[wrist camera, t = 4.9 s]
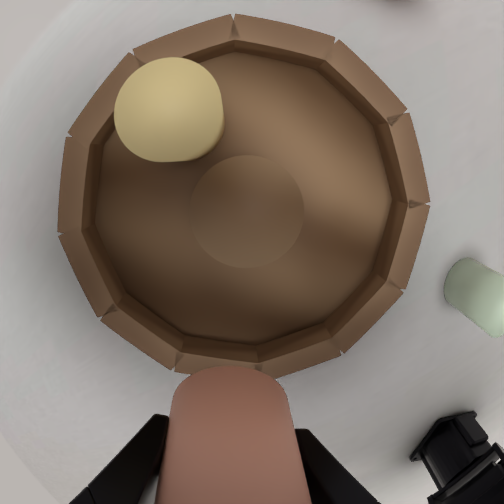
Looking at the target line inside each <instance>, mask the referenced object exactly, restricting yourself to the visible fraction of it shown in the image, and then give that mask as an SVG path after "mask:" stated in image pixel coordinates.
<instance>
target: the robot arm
mask: <svg viewBox="0 0 504 504" xmlns="http://www.w3.org/2000/svg"><path fill="white" fill-rule="evenodd" d="M476 416H477V413H476V412H470V413H466V414H462V415H457V416H452V417H448V418H443V419H440V420H438V421H437V422H436V423H435V425H434V426H433V428H432V429H431V430H430V432H429V433H428V435H427V436H426V437H425V439H424V440H423V441H422V443H421V444H420V445H419V447H418V448H417V449H416V450H415V452H414V453H413V454H412V456H411V457H410V461H411V462H413V461H418V460H422V461H423V463H424V464H425V466H426V468H427V470H428V472H429V473H430V475H431V477H432V479H433V481H434V483H435V484H436V486H437V488H438V490H439V491H437V492H436V493H434V494H433V495H430V496H429V497H427V499H428V503H429V504H504V449H503V448H502V447H501V446H500V445H499V444H498V443H496V442H495V443H494V444H493V445H492V446H491V445H490V444H489V442H488V441H487V439H488V435H487V434H486V433H485V431H484V430H483V429H482V427H481V426H480V425H479V424H478V422H477V421H476V420H475V417H476ZM168 422H169V417H168V416H166V415H160V414H154V415H153V416H152V417H151V418H150V419H149V421H148V422H147V423H146V424H145V425H144V426H143V427H142V428H141V429H140V430H139V431H138V433H137V434H136V435H135V436H134V437H133V438H132V439H131V440H130V441H129V442H128V443H127V444H126V446H125V447H124V448H123V449H122V450H121V451H120V452H119V453H118V454H117V455H116V456H115V457H114V458H113V459H112V460H111V461H110V463H109V464H108V465H107V466H106V467H105V468H104V469H103V470H102V471H101V472H100V473H99V474H98V475H97V476H96V477H95V478H94V479H93V480H92V481H91V482H90V483H89V484H88V487H89V488H88V487H85V488H84V489H83V490H82V491H81V492H80V493H79V494H78V495H77V496H76V497H75V498H74V499H73V500H72V501H71V502H70V503H69V504H154V502H155V496H156V489H157V483H158V477H159V471H160V465H161V460H162V455H163V450H164V444H165V438H166V433H167V428H168ZM295 434H296V438H297V442H298V447H299V451H300V455H301V459H302V464H303V468H304V472H305V477H306V481H307V485H308V489H309V494H310V498H311V502H312V504H381V503H380V502H377V500H376V499H375V498H374V497H373V496H372V495H371V494H370V493H369V492H368V491H367V490H366V489H365V488H364V487H363V486H362V485H361V484H360V483H359V482H358V481H357V480H356V479H355V478H354V477H353V476H352V475H351V474H350V473H349V472H348V471H347V470H346V469H345V468H344V467H343V466H342V465H341V464H340V463H339V462H338V461H337V459H336V458H335V457H334V456H333V455H332V454H331V453H330V452H329V451H328V450H327V449H326V448H325V447H324V446H323V445H322V444H321V443H320V441H319V440H318V439H317V438H316V437H315V436H314V435H313V434H312V433H311V432H310V431H309V430H308V429H295ZM499 458H500V459H501V460H500V461H499V462H498V463H497V464H496V463H495V462H496V461H497V460H498V459H499Z"/></svg>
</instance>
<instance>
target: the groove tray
mask: <svg viewBox="0 0 504 504" xmlns="http://www.w3.org/2000/svg"><path fill="white" fill-rule="evenodd" d="M334 40H335V37H333V36H330V35H327V34H324V33H320V32H317V31H313V30H310V29H306V28H302V27H298V26H294V25H290V24H286V23H282V22H277V21H273V20H268V19H263V18H258V17H252V16H246V15H240V14H235V17H234V21H233V19H232V16H231V14H229V15H225V16H222V17H218V18H215V19H211V20H208V21H205V22H202V23H199V24H196V25H193V26H190V27H187V28H184V29H181V30H178V31H176V32H173V33H170V34H168V35H165V36H163V37H160V38H158V39H155V40H153V41H150V42H148V43H146V44H143V45H141V46H139V47H137V48H134V49H133V51H134V55H135V56H134V55H132V54H131V53H128V54H127V55H126V56H125V57H124V58H123V59H122V61H121V62H120V63H119V64H118V65H117V66H116V68H115V69H114V70H113V71H112V72H111V74H110V75H109V76H108V77H107V79H106V80H105V81H104V82H103V84H102V85H101V86H100V87H99V89H98V90H97V91H96V93H95V94H94V95H93V97H92V98H91V99H90V101H89V102H88V103H87V105H86V106H85V108H84V109H83V110H82V112H81V113H80V115H79V116H78V118H77V119H76V121H75V122H74V124H73V125H72V127H71V128H70V130H69V131H68V133H69V134H70V135H71V136H72V137H66V140H65V147H64V154H63V162H62V171H61V181H60V192H59V207H58V232H60V233H64V234H62V235H60V236H58V237H59V239H60V242H61V244H62V246H63V249H64V251H65V253H66V255H67V258H68V260H69V262H70V264H71V266H72V268H73V271H74V273H75V275H76V277H77V279H78V281H79V283H80V285H81V287H82V289H83V291H84V293H85V295H86V297H87V299H88V301H89V303H90V305H91V306H92V308H93V310H94V312H95V314H96V316H97V317H100V316H103V315H104V316H103V317H102V319H101V320H100V321H101V322H103V323H104V324H105V325H107V326H108V327H109V328H110V329H112V330H113V331H114V332H116V333H117V334H119V335H120V336H121V337H123V338H124V339H125V340H127V341H128V342H130V343H131V344H132V345H134V346H135V347H137V348H138V349H139V350H141V351H142V352H144V353H145V354H147V355H148V356H150V357H151V358H153V359H154V360H156V361H157V362H159V363H160V364H162V365H163V366H165V367H166V368H168V369H169V370H172V368H173V367H174V366H175V371H174V372H179V373H185V374H191V375H192V374H194V373H197V372H199V371H201V370H204V369H208V368H213V367H219V366H240V367H246V368H250V369H254V370H257V371H260V372H262V373H264V374H266V375H268V376H270V377H271V378H273V379H275V378H279V377H282V376H285V375H288V374H291V373H294V372H297V371H300V370H303V369H306V368H309V367H311V366H314V365H317V364H320V363H323V362H325V361H328V360H331V359H333V358H336V357H338V356H341V353H340V350H341V351H342V352H343V353H345V352H346V351H347V350H349V349H350V348H351V347H352V346H353V345H354V344H355V343H356V342H357V341H358V340H359V339H360V338H361V337H362V336H363V335H364V334H365V333H366V332H367V331H368V330H369V329H370V328H371V327H372V326H373V325H374V324H375V323H376V322H377V321H378V320H379V319H380V318H381V317H382V316H383V315H384V313H385V312H386V311H387V310H388V309H389V308H390V307H391V306H392V305H393V304H394V303H395V302H396V301H397V299H398V298H399V297H400V296H401V295H402V294H403V292H402V291H401V290H400V289H406V287H407V284H408V281H409V278H410V275H411V272H412V269H413V265H414V262H415V259H416V256H417V252H418V249H419V246H420V242H421V239H422V235H423V232H424V228H425V224H426V220H427V216H428V212H429V208H430V206H429V205H426V204H425V203H428V202H430V197H429V192H428V187H427V181H426V177H425V172H424V167H423V163H422V158H421V154H420V150H419V146H418V142H417V138H416V134H415V131H414V127H413V123H412V120H411V117H410V113H405V114H403V113H404V112H405V111H406V110H407V108H406V107H405V106H404V104H403V103H402V102H401V101H400V100H399V99H398V98H397V96H396V95H395V94H394V93H393V92H392V91H391V90H390V89H389V88H388V86H387V85H386V84H385V83H384V82H383V81H382V80H381V79H380V78H379V77H378V76H377V75H376V74H375V73H374V72H373V71H372V70H371V69H370V68H369V67H368V66H367V65H366V64H365V63H364V62H363V61H362V60H361V59H360V58H359V57H358V56H357V55H356V54H355V53H354V52H353V51H351V50H350V49H349V48H348V47H347V46H346V45H345V44H344V43H343V42H342V41H340V40H338V41H337V42H336V43H335V44H334ZM168 57H178V58H185V59H188V60H191V61H194V62H196V63H198V64H200V65H201V66H203V67H204V68H205V69H206V70H207V71H209V73H210V74H211V75H212V76H213V78H214V79H215V81H216V82H217V85H218V87H219V90H220V93H221V99H222V105H223V112H224V119H225V127H224V132H223V135H222V138H221V140H220V142H219V143H218V145H217V146H216V147H215V148H214V149H213V150H212V151H211V152H210V153H209V154H207V155H206V156H204V157H202V158H200V159H196V160H192V161H177V162H154V161H149V160H146V159H143V158H141V157H139V156H137V155H135V154H134V153H133V152H131V151H130V150H129V149H128V148H127V147H126V146H125V145H124V143H123V142H122V141H121V139H120V137H119V135H118V133H117V130H116V127H115V122H114V108H115V102H116V99H117V96H118V93H119V91H120V89H121V87H122V86H123V84H124V83H125V81H126V80H127V79H128V78H129V77H130V76H131V75H132V74H133V73H134V72H135V71H136V70H137V69H139V68H140V67H142V66H143V65H145V64H147V63H149V62H151V61H154V60H157V59H161V58H168Z"/></svg>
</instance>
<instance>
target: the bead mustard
mask: <svg viewBox="0 0 504 504" xmlns="http://www.w3.org/2000/svg"><path fill="white" fill-rule="evenodd" d="M114 122H115V127H116V130H117V133H118V135H119V137H120V139H121V141H122V142H123V143H124V145H125V146H126V147H127V148H128V149H129V150H130V151H131V152H133V153H134V154H135V155H137V156H139V157H141V158H143V159H146V160H149V161H154V162H177V161H192V160H196V159H200V158H202V157H204V156H206V155H207V154H209V153H210V152H211V151H212V150H213V149H214V148H215V147H216V146H217V145H218V143H219V142H220V140H221V138H222V135H223V132H224V127H225V119H224V112H223V105H222V99H221V93H220V90H219V87H218V85H217V82H216V81H215V79H214V78H213V76H212V75H211V74H210V73H209V71H207V70H206V69H205V68H204V67H203V66H201V65H200V64H198V63H196V62H194V61H191V60H188V59H185V58H178V57H168V58H161V59H157V60H154V61H151V62H149V63H147V64H145V65H143V66H142V67H140V68H139V69H137V70H136V71H135V72H134V73H133V74H132V75H131V76H130V77H129V78H128V79H127V80H126V81H125V83H124V84H123V86H122V87H121V89H120V91H119V93H118V96H117V99H116V102H115V108H114Z"/></svg>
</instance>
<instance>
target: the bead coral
mask: <svg viewBox="0 0 504 504" xmlns="http://www.w3.org/2000/svg"><path fill="white" fill-rule="evenodd" d="M154 504H312V502H311V498H310V494H309V489H308V485H307V481H306V477H305V472H304V468H303V464H302V459H301V455H300V451H299V447H298V442H297V438H296V434H295V429H294V425H293V421H292V417H291V412H290V408H289V404H288V399H287V396H286V393H285V391H284V389H283V388H282V387H281V385H280V384H279V383H278V382H277V381H276V380H274V379H273V378H271V377H270V376H268V375H266V374H264V373H262V372H260V371H257V370H254V369H250V368H246V367H240V366H219V367H213V368H208V369H204V370H201V371H199V372H197V373H194V374H192V375H191V376H189V377H187V378H186V379H185V380H184V381H183V382H182V383H181V384H180V385H179V386H178V387H177V389H176V391H175V393H174V396H173V400H172V405H171V410H170V415H169V422H168V428H167V433H166V438H165V444H164V450H163V455H162V460H161V465H160V471H159V477H158V483H157V489H156V496H155V502H154Z"/></svg>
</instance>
